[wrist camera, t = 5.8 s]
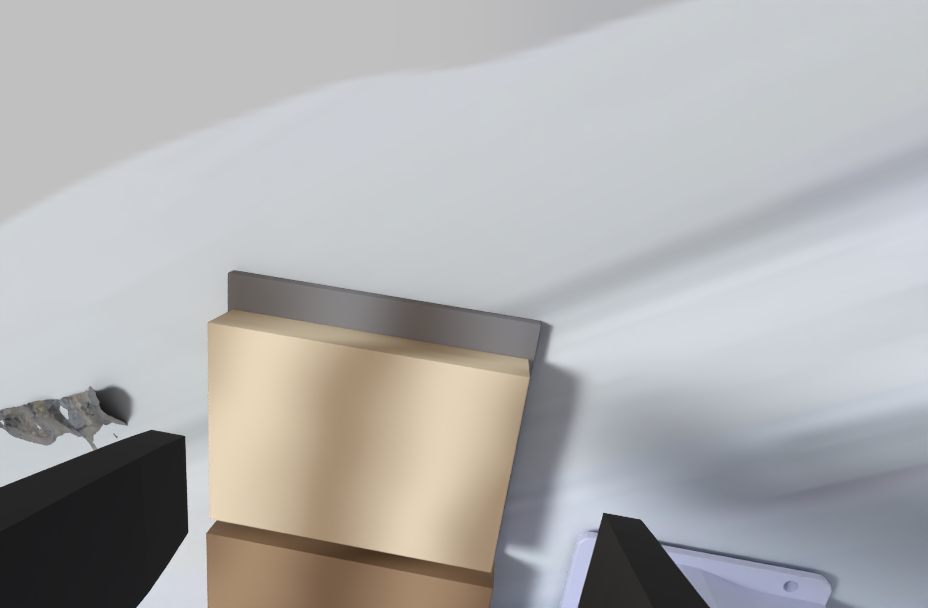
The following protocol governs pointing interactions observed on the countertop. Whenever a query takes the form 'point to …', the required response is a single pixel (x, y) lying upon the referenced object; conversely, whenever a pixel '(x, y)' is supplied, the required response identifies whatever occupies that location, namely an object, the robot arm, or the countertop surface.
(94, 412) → the driftwood
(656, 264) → the countertop surface
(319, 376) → the plank
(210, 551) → the floor row
